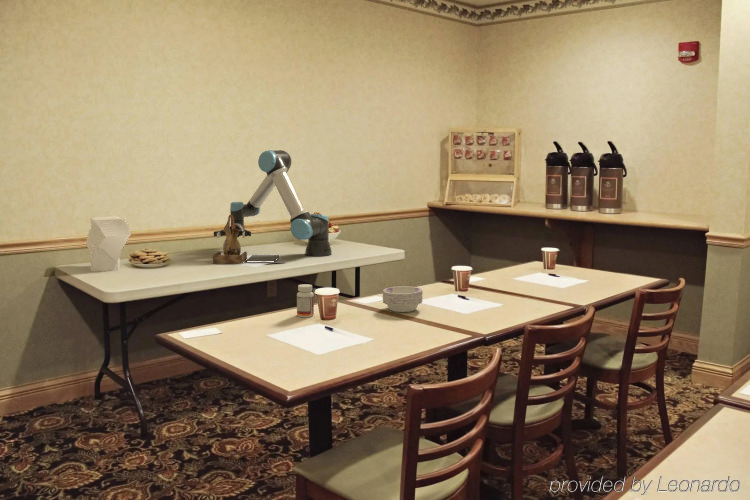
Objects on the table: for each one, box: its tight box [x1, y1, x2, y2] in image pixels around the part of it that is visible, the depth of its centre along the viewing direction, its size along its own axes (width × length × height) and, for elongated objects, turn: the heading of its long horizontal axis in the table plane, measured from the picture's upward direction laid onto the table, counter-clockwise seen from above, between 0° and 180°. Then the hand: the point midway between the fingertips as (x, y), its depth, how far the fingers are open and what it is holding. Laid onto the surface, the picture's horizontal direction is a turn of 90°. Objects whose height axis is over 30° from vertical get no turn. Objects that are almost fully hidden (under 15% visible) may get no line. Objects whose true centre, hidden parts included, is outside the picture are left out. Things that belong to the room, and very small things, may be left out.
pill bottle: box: [296, 283, 315, 318], centre depth 248 cm, size 6×6×11 cm
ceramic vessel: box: [222, 214, 242, 255], centre depth 366 cm, size 16×9×25 cm, turn 33°
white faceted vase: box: [85, 215, 132, 272], centre depth 342 cm, size 21×27×26 cm
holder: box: [212, 251, 248, 265], centre depth 363 cm, size 15×13×4 cm
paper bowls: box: [382, 285, 424, 313], centre depth 259 cm, size 15×15×8 cm
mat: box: [246, 254, 280, 263], centre depth 371 cm, size 15×18×1 cm
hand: (230, 235), depth 366 cm, fingers open, 13 cm apart
